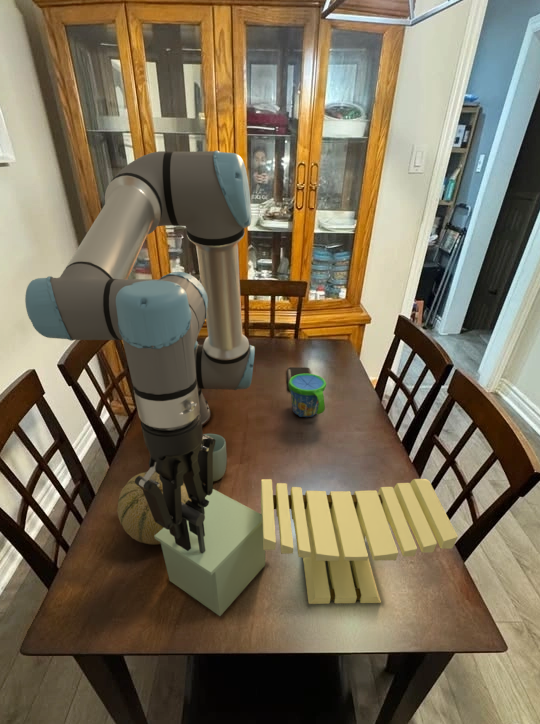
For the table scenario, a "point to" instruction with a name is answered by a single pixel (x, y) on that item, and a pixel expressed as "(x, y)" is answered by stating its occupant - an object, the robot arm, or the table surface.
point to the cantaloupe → (140, 512)
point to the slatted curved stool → (353, 533)
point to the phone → (296, 372)
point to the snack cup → (307, 394)
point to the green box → (218, 573)
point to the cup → (219, 456)
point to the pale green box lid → (214, 531)
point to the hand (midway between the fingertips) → (190, 539)
